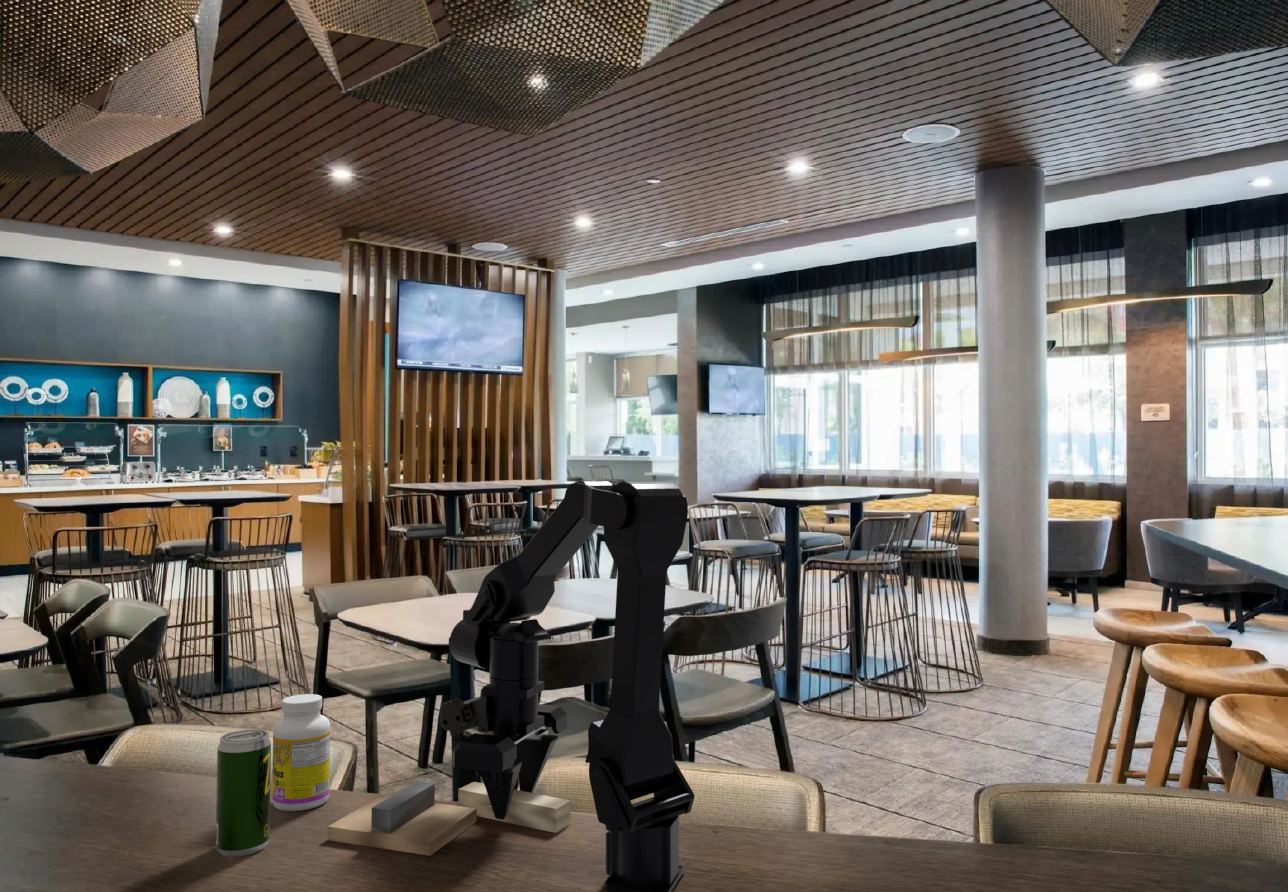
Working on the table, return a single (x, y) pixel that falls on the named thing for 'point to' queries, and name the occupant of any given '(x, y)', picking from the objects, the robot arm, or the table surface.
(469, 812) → the balance board
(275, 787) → the supplement bottle
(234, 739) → the beer can
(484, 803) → the rod
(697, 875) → the table surface
